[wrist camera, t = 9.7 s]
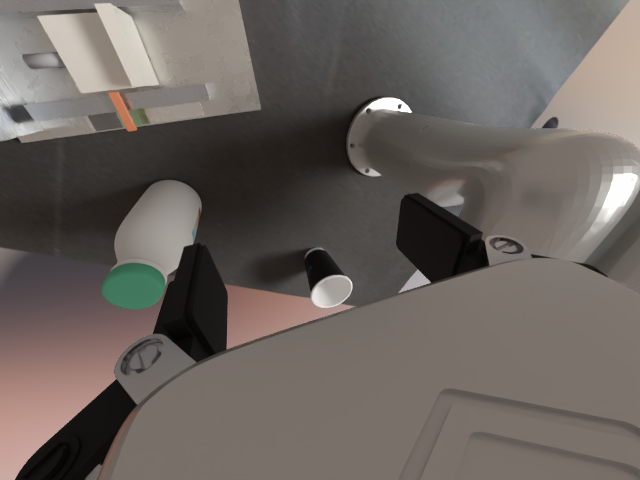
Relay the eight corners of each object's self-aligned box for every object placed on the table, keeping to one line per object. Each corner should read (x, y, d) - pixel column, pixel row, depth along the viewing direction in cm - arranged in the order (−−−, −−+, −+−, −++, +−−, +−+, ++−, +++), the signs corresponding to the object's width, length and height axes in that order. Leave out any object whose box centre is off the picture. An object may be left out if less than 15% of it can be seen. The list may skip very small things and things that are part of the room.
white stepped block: (131, 16, 25) (109, 2, 20) (174, 121, 31) (164, 129, 26) (12, 24, 23) (-40, 10, 18) (82, 134, 29) (55, 144, 24)
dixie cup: (338, 258, 54) (358, 293, 45) (308, 276, 54) (322, 314, 45) (323, 234, 49) (342, 268, 40) (290, 254, 49) (302, 292, 41)
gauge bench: (229, -38, 26) (228, -90, 18) (260, 108, 34) (269, 117, 26) (-103, -30, 21) (-315, -99, 13) (27, 141, 29) (-51, 164, 21)
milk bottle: (132, 191, 35) (47, 284, 19) (182, 170, 35) (140, 244, 19) (168, 231, 39) (125, 333, 23) (212, 212, 40) (198, 300, 24)
